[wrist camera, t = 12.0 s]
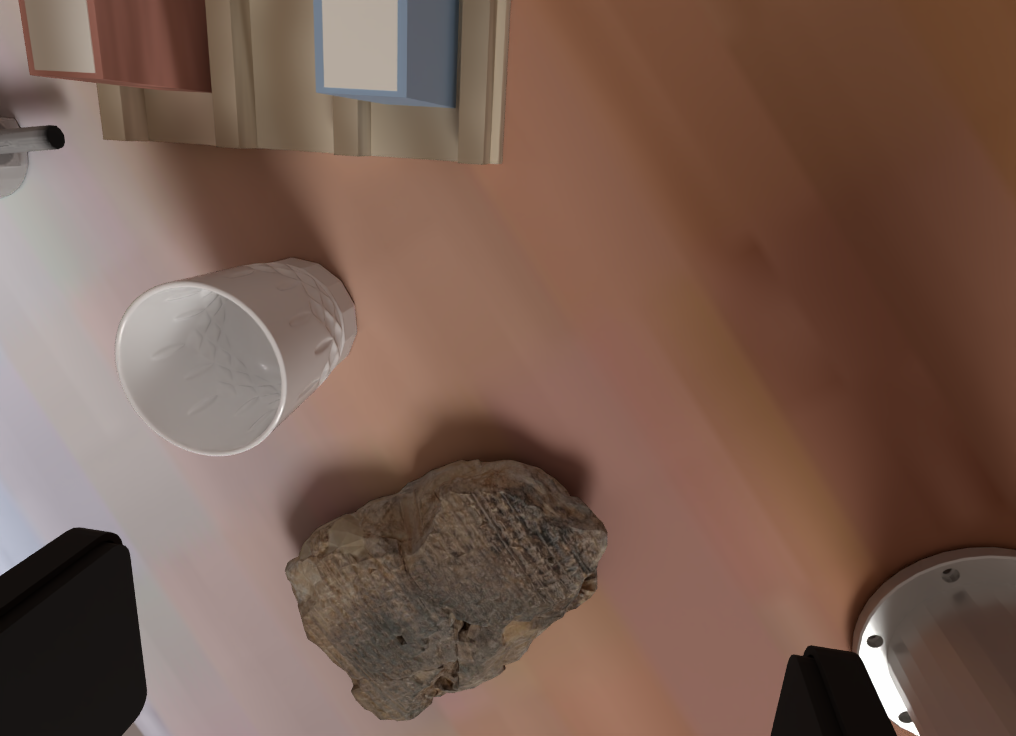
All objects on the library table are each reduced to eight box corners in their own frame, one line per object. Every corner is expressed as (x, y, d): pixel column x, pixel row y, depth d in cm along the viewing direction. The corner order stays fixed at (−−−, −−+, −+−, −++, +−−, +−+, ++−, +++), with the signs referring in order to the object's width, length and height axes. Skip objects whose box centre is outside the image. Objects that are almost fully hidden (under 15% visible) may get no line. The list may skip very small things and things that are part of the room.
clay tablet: (540, 396, 38) (272, 539, 44) (532, 432, 34) (234, 587, 39) (661, 587, 41) (396, 698, 47) (669, 644, 37) (374, 760, 42)
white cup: (263, 394, 40) (155, 469, 31) (216, 264, 38) (84, 303, 29) (385, 368, 39) (311, 440, 29) (342, 231, 37) (247, 262, 27)
